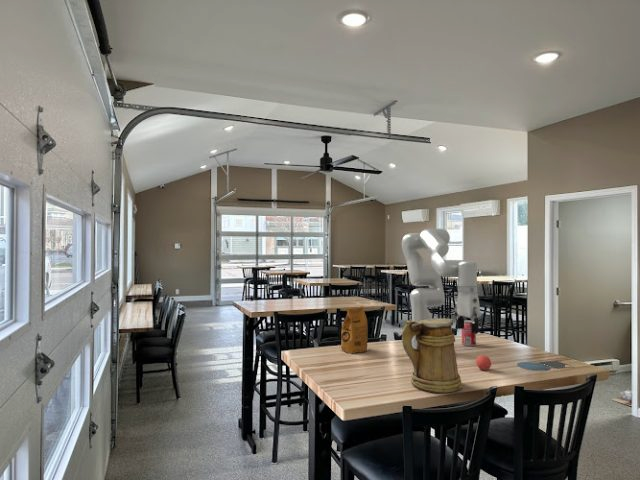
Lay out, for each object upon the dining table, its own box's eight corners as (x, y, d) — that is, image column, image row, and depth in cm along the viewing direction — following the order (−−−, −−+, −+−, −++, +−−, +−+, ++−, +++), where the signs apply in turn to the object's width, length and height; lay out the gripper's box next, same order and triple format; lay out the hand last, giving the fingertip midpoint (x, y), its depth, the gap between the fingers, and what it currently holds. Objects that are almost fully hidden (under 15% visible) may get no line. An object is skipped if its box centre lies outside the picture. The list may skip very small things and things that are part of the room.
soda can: (477, 347, 221) (477, 322, 221) (462, 346, 222) (462, 321, 222) (474, 344, 228) (474, 320, 228) (460, 343, 229) (461, 319, 229)
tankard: (472, 390, 153) (472, 322, 154) (416, 397, 146) (416, 325, 146) (442, 376, 171) (442, 314, 171) (391, 381, 163) (391, 317, 163)
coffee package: (338, 350, 211) (338, 306, 212) (357, 347, 218) (357, 304, 219) (350, 354, 203) (351, 309, 203) (370, 351, 210) (370, 307, 211)
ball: (473, 369, 180) (473, 355, 180) (480, 366, 184) (480, 353, 184) (487, 372, 176) (487, 358, 176) (493, 369, 180) (493, 355, 180)
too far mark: (555, 368, 182) (555, 368, 182) (538, 362, 192) (538, 361, 192) (574, 367, 185) (574, 366, 185) (556, 361, 195) (556, 360, 195)
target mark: (512, 366, 186) (512, 365, 186) (523, 360, 195) (523, 360, 195) (544, 372, 177) (544, 372, 177) (554, 366, 185) (554, 366, 185)
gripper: (488, 291, 171) (488, 334, 170) (462, 288, 187) (462, 326, 187) (472, 292, 169) (472, 335, 168) (448, 288, 185) (448, 327, 185)
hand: (467, 330), depth 178 cm, fingers open, 9 cm apart
